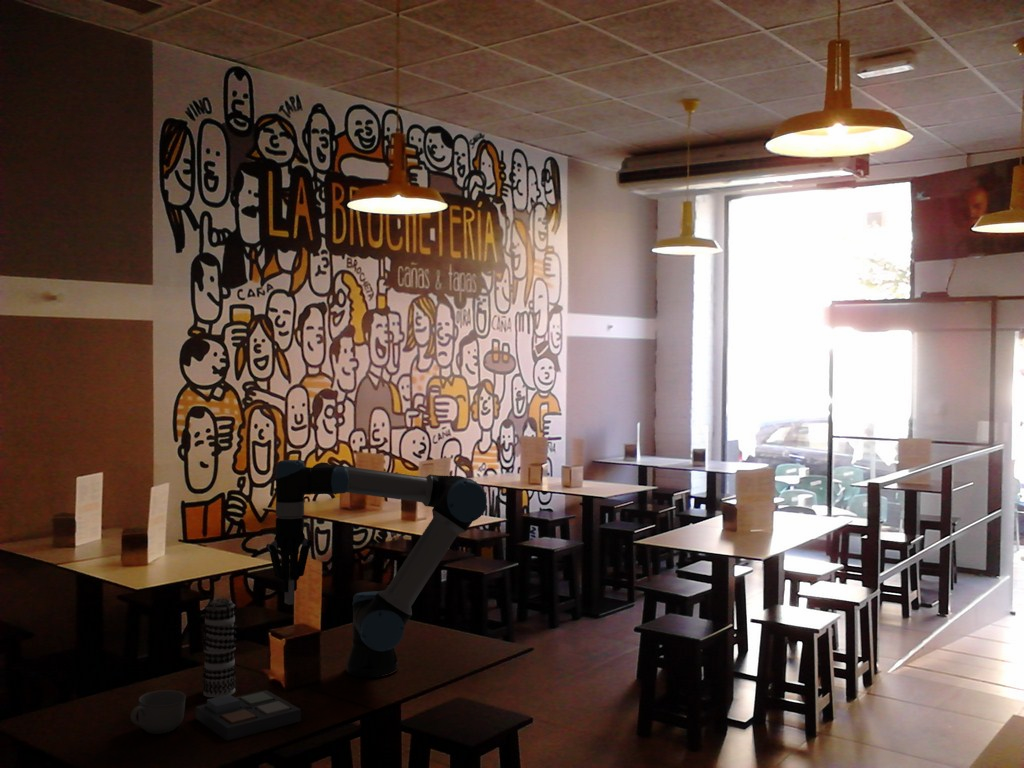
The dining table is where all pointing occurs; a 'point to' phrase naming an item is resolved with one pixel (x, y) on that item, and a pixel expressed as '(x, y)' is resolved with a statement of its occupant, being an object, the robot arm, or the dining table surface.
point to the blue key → (223, 704)
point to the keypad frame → (248, 726)
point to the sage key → (256, 699)
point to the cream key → (272, 708)
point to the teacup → (160, 711)
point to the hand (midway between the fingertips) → (289, 603)
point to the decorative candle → (219, 648)
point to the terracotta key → (238, 717)
